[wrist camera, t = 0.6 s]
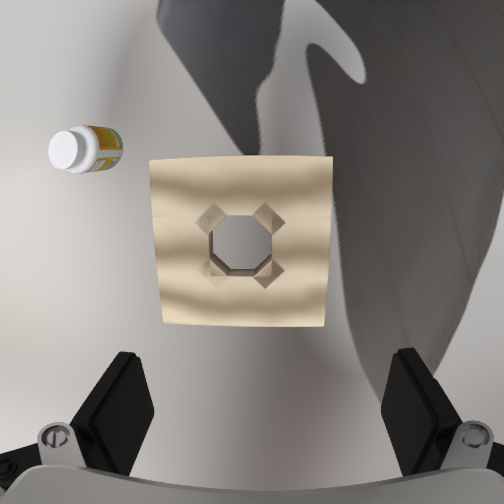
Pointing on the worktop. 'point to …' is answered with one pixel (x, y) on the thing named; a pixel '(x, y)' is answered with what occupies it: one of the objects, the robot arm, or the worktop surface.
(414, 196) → the worktop surface
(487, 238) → the worktop surface
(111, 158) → the supplement bottle
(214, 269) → the plate
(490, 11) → the worktop surface
